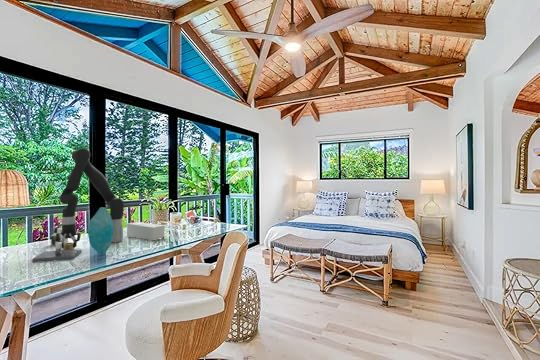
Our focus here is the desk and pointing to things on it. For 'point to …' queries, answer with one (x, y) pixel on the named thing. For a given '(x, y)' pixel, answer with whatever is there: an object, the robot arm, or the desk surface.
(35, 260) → the piston stand
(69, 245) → the bronze ring
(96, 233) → the crystal
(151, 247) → the desk surface
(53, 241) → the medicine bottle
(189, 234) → the desk surface
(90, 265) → the desk surface
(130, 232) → the light grey long block
